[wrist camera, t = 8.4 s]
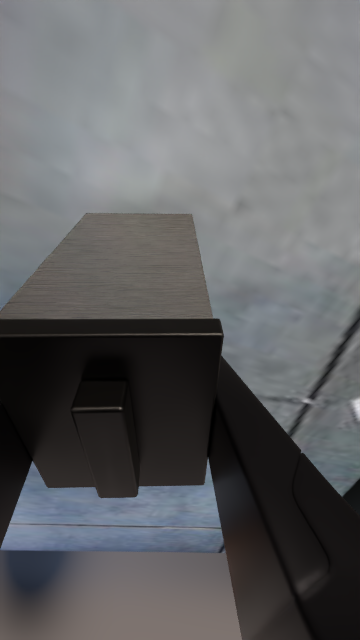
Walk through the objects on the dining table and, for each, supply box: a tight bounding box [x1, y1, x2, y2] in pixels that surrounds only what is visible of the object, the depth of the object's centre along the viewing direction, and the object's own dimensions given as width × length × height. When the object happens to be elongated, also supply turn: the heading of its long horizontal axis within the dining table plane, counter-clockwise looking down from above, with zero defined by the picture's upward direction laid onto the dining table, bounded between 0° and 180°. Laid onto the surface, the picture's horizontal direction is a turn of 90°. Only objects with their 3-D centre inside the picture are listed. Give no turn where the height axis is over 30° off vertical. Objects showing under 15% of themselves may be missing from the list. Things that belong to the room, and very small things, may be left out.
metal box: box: [0, 213, 224, 498], centre depth 9 cm, size 5×4×8 cm
